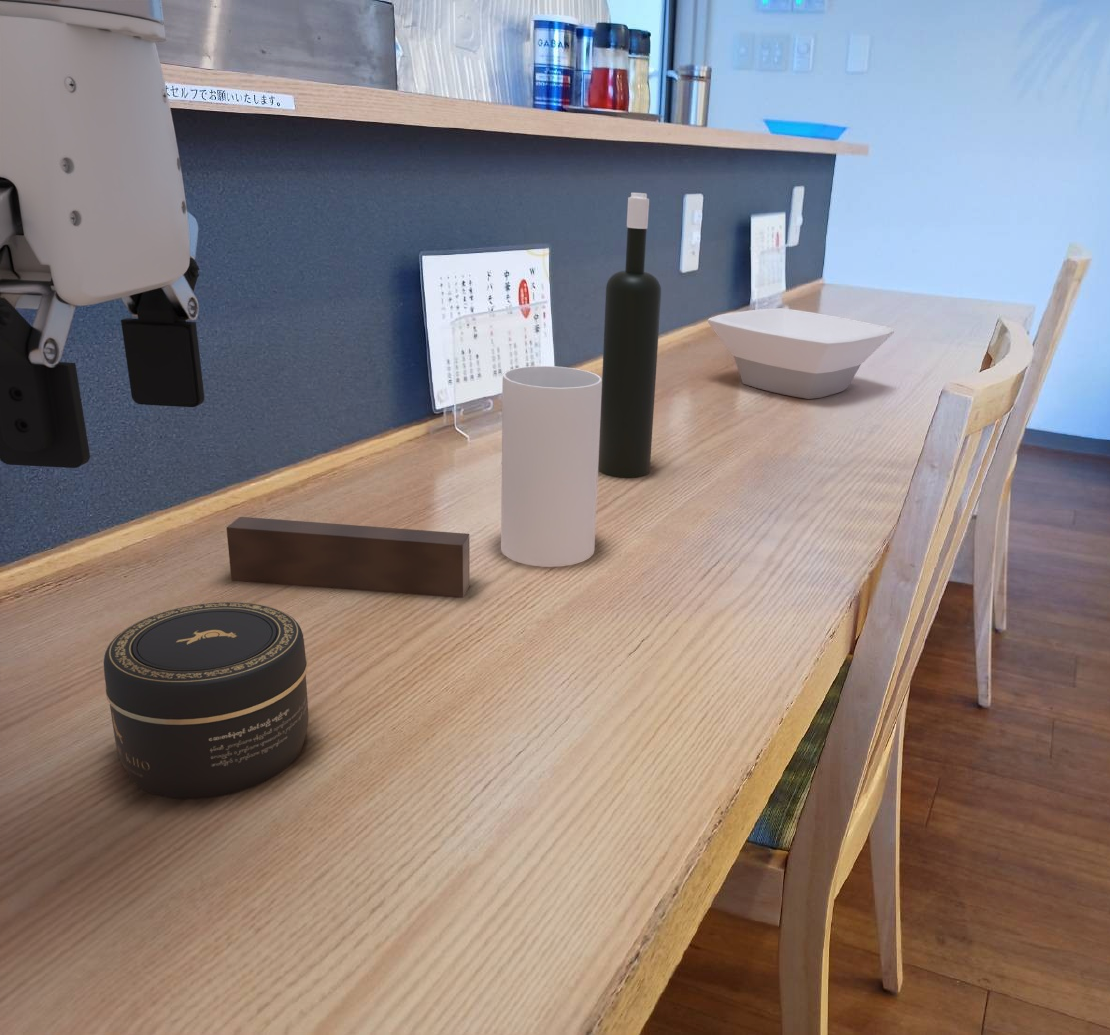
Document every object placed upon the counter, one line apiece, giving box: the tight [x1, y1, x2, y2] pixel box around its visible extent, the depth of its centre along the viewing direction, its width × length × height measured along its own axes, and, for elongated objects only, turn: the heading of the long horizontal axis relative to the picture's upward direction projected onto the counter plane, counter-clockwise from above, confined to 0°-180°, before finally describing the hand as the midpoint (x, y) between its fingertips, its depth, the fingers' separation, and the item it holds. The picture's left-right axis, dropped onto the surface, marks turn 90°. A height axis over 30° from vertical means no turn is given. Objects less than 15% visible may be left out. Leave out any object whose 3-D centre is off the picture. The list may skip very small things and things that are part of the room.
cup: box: [500, 365, 602, 568], centre depth 85 cm, size 8×8×16 cm
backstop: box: [226, 516, 471, 599], centre depth 77 cm, size 18×2×5 cm, turn 89°
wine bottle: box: [598, 191, 662, 479], centre depth 105 cm, size 6×6×30 cm
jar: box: [103, 601, 309, 800], centre depth 55 cm, size 10×10×8 cm
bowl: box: [707, 307, 895, 400], centre depth 157 cm, size 24×25×10 cm
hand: (114, 431), depth 43 cm, fingers open, 9 cm apart
